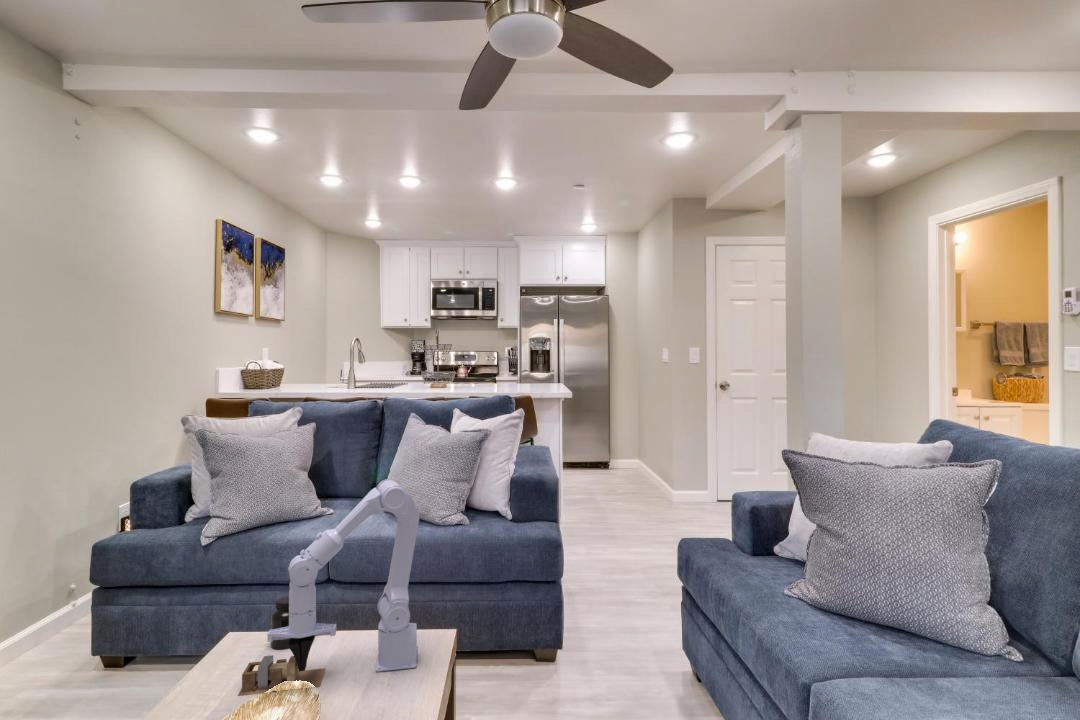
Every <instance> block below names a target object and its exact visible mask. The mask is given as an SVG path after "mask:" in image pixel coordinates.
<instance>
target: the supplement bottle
mask: <svg viewBox="0 0 1080 720" xmlns="http://www.w3.org/2000/svg"><path fill="white" fill-rule="evenodd" d="M274 608H275V609H274V611H273V612H272V614H271V617H270V630H272V629H278V628H283V627H287V626H289V596H284V597H280V598H278V599H276V601H275V606H274ZM288 644H289V639H281V640H273V641H272V642H270V648H271V650H275V651H283V650H290V649H289V646H288Z"/></svg>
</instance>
